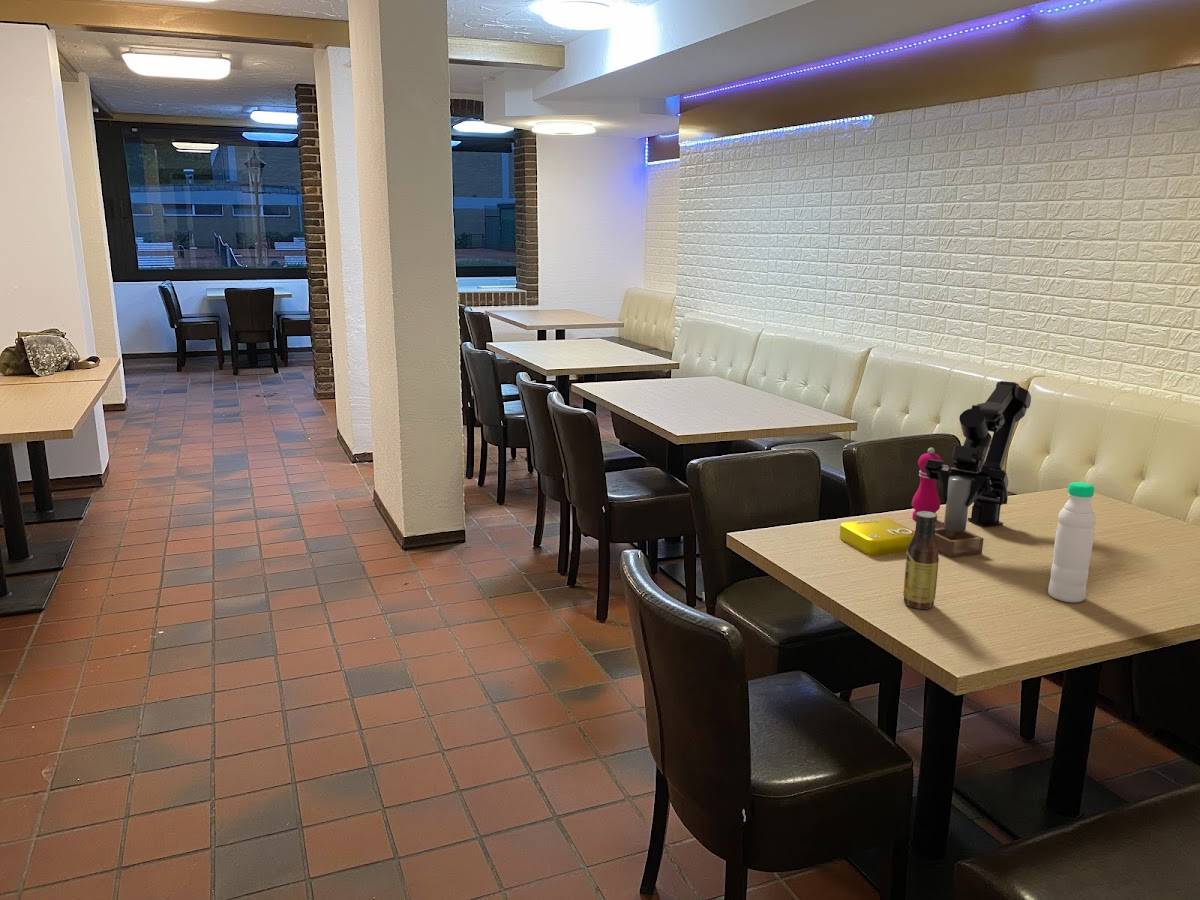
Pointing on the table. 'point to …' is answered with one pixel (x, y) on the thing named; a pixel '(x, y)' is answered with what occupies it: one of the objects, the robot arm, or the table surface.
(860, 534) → the element tile
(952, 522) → the charcoal canister
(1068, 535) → the water bottle
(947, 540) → the walnut socket
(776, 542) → the table surface
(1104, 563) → the table surface
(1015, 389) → the robot arm
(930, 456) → the pepper mill
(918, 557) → the sauce bottle
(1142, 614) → the table surface
